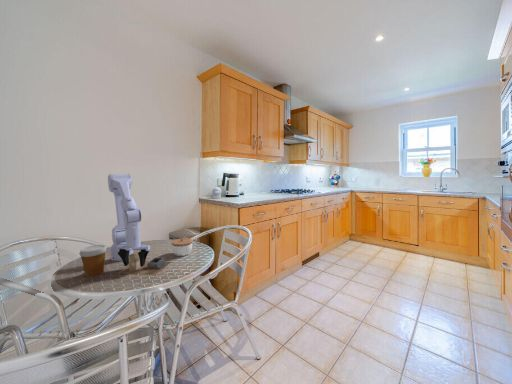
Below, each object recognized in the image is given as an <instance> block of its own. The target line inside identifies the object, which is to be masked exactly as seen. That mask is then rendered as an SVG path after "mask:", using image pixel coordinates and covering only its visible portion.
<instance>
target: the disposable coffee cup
mask: <svg viewBox="0 0 512 384" xmlns="http://www.w3.org/2000/svg"><path fill="white" fill-rule="evenodd" d="M107 249H108V248H107V247H106V245H104V244H98V245H97V244H96V245H90V246H86V247H84V248H81V249H80V252H79V253H78V254H79V256H80V257H81V258H80V259H81V262H82V266H83V270H84V275H85V277H89V278H90V277H97V276H99V275H101V274H103V273H104V271H105V261H106V252H107Z"/></svg>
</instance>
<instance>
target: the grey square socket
mask: <svg viewBox="0 0 512 384" xmlns="http://www.w3.org/2000/svg"><path fill="white" fill-rule="evenodd" d="M148 261H149V262H148V263H147V266H146V267H145V269H160V268H162V267H163V266H164V265H165V264H166V263H167V262H168V261H165V257H154V258H153V259H151V260H148Z"/></svg>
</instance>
